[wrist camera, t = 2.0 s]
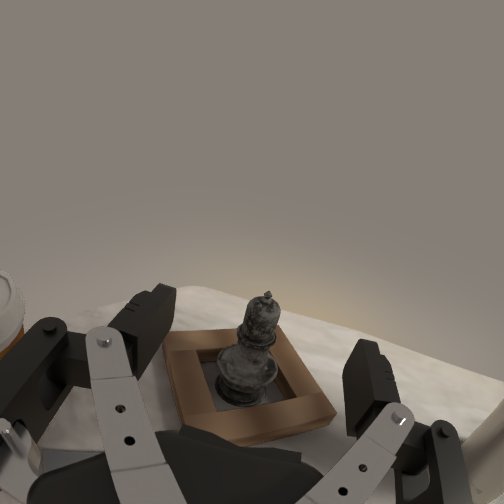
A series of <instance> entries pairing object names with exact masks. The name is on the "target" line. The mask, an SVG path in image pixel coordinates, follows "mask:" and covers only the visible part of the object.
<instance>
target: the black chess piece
mask: <svg viewBox="0 0 504 504" xmlns="http://www.w3.org/2000/svg"><path fill="white" fill-rule="evenodd" d="M271 297H272V295H271V292H270V291H268V292H266V293H264V296H262V297H261V296H260V297H255V298H254V299H252V300H250V302H249V303H248V305H247V309H246V313H245V317H244V321H243V324H241V325H239V326H238V328H237V331H236V334H237V337H238V341H237V344H232V345H230V346H227V347H225V348H224V349H223V350H221V352H220V353H219V355H218V358H217V365H218V368H219V371H220V374H219V375H218V377H217V378H216V382H215V387H216V391H217V393H218V394H219V396H220V397H221V398H222V399H223V400H225V401H226V402H228V403H230V404H232V405H235V406H240V407H249V406H253V405H256V404H258V403H260V402H261V401H262V400H263V399H264V396H265V394H266V386H267V385H268V384H269V383H271V382H272V381H273V380H274V379H275V377H276V375H277V372H278V367H277V364H276V361H275V360H274V358H273V357H272V356H271V355H270V354H269V353H268V352H269V349H270V347H271V346H273V345H274V344H275V342H276V334H275V329H276V326H277V323H278V320H279V317H280V307H279V305H278V303H277V302H276V301H275V300H273V299H271Z"/></svg>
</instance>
